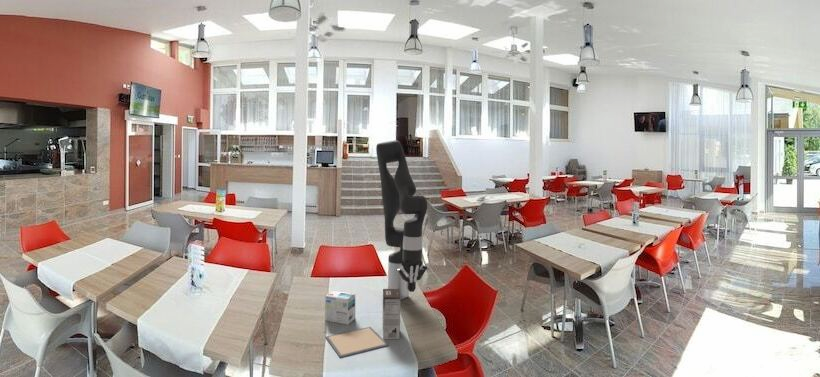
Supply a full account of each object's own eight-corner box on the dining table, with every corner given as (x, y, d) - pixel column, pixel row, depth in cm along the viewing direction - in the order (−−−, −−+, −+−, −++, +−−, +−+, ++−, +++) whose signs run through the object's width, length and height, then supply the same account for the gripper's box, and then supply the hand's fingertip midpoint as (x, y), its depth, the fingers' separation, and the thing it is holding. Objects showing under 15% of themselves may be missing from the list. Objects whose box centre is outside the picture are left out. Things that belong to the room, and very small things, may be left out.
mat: (370, 327, 153) (370, 326, 153) (388, 345, 140) (388, 344, 140) (325, 337, 145) (325, 336, 145) (339, 357, 131) (339, 356, 131)
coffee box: (382, 328, 153) (382, 288, 152) (398, 328, 154) (399, 288, 152) (382, 339, 144) (383, 297, 143) (400, 339, 145) (400, 296, 143)
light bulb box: (355, 318, 162) (356, 293, 161) (348, 325, 155) (348, 299, 154) (333, 314, 165) (333, 289, 164) (324, 321, 159) (324, 295, 158)
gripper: (422, 243, 157) (421, 285, 158) (392, 246, 150) (391, 290, 152) (432, 247, 150) (431, 291, 152) (401, 251, 144) (400, 296, 145)
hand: (411, 291), depth 152 cm, fingers closed
